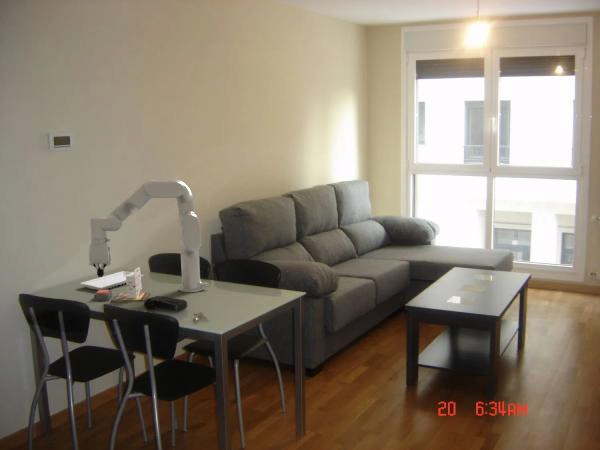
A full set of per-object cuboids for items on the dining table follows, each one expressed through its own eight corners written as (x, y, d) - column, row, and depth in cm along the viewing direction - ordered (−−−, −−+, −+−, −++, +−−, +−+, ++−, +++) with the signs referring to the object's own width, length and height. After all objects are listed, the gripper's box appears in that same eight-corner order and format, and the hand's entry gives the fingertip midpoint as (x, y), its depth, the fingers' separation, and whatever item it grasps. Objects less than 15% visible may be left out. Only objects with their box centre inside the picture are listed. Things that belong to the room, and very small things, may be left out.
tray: (144, 280, 375) (144, 274, 375) (100, 293, 349) (100, 287, 349) (124, 276, 384) (123, 270, 384) (79, 289, 358) (79, 283, 358)
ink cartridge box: (133, 293, 343) (131, 266, 341) (142, 294, 343) (140, 266, 340) (126, 298, 335) (125, 270, 332) (136, 298, 334) (134, 270, 332)
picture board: (150, 294, 345) (149, 292, 345) (144, 301, 333) (144, 299, 332) (117, 294, 345) (117, 293, 345) (110, 302, 332) (110, 300, 332)
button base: (112, 296, 342) (111, 290, 342) (108, 300, 335) (108, 294, 335) (98, 296, 342) (97, 291, 341) (94, 300, 335) (93, 295, 334)
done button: (109, 294, 341) (109, 289, 340) (106, 297, 336) (106, 292, 335) (99, 294, 341) (99, 289, 340) (96, 297, 336) (96, 292, 335)
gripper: (115, 239, 337) (117, 274, 340) (86, 239, 337) (88, 274, 340) (112, 242, 330) (113, 278, 333) (81, 242, 329) (83, 278, 332)
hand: (100, 276), depth 336 cm, fingers closed
